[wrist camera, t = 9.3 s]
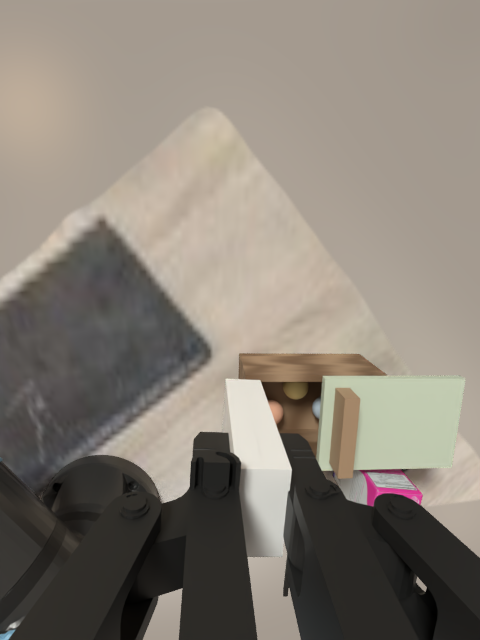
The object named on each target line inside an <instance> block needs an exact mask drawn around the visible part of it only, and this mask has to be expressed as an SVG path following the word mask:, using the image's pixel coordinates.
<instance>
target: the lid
mask: <svg viewBox="0 0 480 640" xmlns="http://www.w3.org/2000/svg"><path fill="white" fill-rule="evenodd" d="M464 386H465V378H463V377H461V376H323V378H322V391H321V404H320V417H319V429H318V442H317V455H316V459H317V462H318V464H319V466H320V468H321V470H322V471H334V473H335V474H336V476H337V478H338V479H345V478H353V470H375V469H418V468H452V462H453V456H454V449H455V443H456V437H457V430H458V423H459V417H460V411H461V405H462V398H463V392H464Z"/></svg>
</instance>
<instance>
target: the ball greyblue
mask: <svg viewBox="0 0 480 640" xmlns="http://www.w3.org/2000/svg"><path fill="white" fill-rule="evenodd" d="M320 404H321V396H320V397H318V398H317V399H315V401H314V402H313V405H312V411H313V414H314V415H315V417H316V418H318V419H319V417H320Z"/></svg>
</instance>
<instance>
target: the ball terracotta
mask: <svg viewBox="0 0 480 640" xmlns="http://www.w3.org/2000/svg"><path fill="white" fill-rule="evenodd" d="M267 401H268V403H269V406H270V409H271V412H272V415H273V418H274V420H275V423H276V424H278V423H279V422H280V421H281V420H282V418H283V408H282V406H281V405H280V403H278V402H277V401H275V400H267Z"/></svg>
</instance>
